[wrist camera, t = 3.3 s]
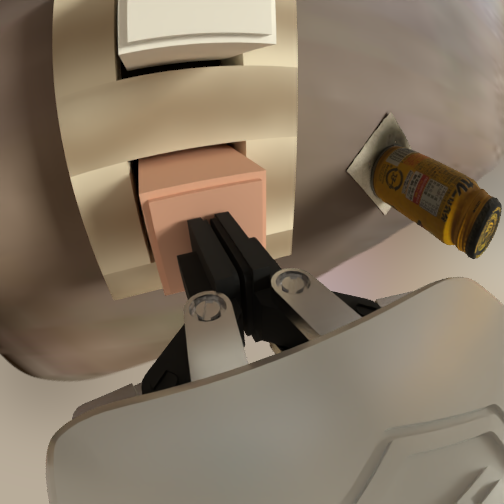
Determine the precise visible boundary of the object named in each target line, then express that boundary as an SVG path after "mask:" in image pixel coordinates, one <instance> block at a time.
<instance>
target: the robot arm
mask: <svg viewBox="0 0 504 504" xmlns="http://www.w3.org/2000/svg"><path fill="white" fill-rule="evenodd" d="M187 223H188V230H189V236H190V242H191V247H192V252H189V253H185V254H181V255H177V260H178V265H179V269H180V273H181V277H182V281H183V285H184V289H185V292H186V295H187V298H188V301H187V302H186V304H185V306H184V321H185V324H184V325H183V326H182V328H181V329H180V330H179V332H178V333H177V334H176V335H175V337H174V338H173V339H172V341H171V342H170V343H169V345H168V346H167V347H166V348H165V350H164V351H163V352H162V354H161V355H160V356H159V358H158V359H157V360H156V362H155V363H154V364H153V365H152V367H151V368H150V369H149V371H148V372H147V374H146V375H145V377H144V379H143V380H142V382H141V383H139V384H137V385H135V386H133V384H129V385H127V386H125V387H122V388H120V389H118V390H115V391H113V392H111V393H109V394H106V395H104V396H101V397H99V398H97V399H94V400H92V401H89V402H87V403H85V404H82V405H81V406H79V407H78V408H77V409H76V411H75V412H74V414H73V417H72V420H71V421H69V422H68V423H66V424H65V425H64V426H62V427H61V428H60V429H59V430H58V431H57V432H56V433H55V434H54V436H53V437H52V438H51V440H50V443H49V445H48V449H47V456H46V481H47V492H48V497H49V503H50V504H504V305H503V304H502V303H501V302H500V301H499V300H498V299H497V298H495V297H494V296H493V295H492V294H491V293H490V292H489V291H487V290H486V289H485V288H484V287H482V286H481V285H480V284H478V283H477V282H475V281H474V280H472V279H469V278H464V277H453V278H446V279H442V280H439V281H436V282H433V283H430V284H428V285H426V286H424V287H421V288H420V289H417V290H415V291H413V292H407V293H403V294H399V295H394V296H390V297H385V298H381V299H376V301H375V302H373V301H371V300H368V299H365V298H360V297H356V296H351V295H347V294H342V293H338V292H333V291H330V290H329V289H328V288H326V287H325V286H324V285H323V284H322V283H321V282H319V281H318V280H317V279H316V278H315V277H313V276H312V275H311V274H310V273H308V272H306V271H304V270H301V269H297V268H286V269H281V268H280V267H279V265H278V264H277V263H276V262H275V260H274V259H273V258H272V257H271V255H270V254H269V253H268V252H267V250H266V249H265V248H264V247H263V246H262V244H261V243H260V242H259V241H258V239H257V238H256V237H251V238H249V237H248V236H247V235H246V233H245V232H244V231H243V230H242V228H241V227H240V226H239V224H238V223H237V222H236V221H235V219H234V218H233V217H232V215H231V214H230V213H229V212H228V211H227V212H222V213H217V214H215V215H214V218H211V219H210V224H209V222H208V221H207V219H206V220H202V218H201V217H199V218H195V219H190V220H187ZM210 225H211V226H210ZM244 331H245V333H246V335H247V336H250V335H252V337H253V339H254V340H255V342H258V341H261V340H263V341H266V342H269V343H270V347H271V348H272V350H273V351H274V353H275V355H272V356H270V357H267V358H264V359H261V360H259V361H256V362H253V363H250V364H248V361H247V357H246V354H245V350H244V347H245V340H244Z"/></svg>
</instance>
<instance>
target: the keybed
mask: <svg viewBox="0 0 504 504" xmlns="http://www.w3.org/2000/svg"><path fill="white" fill-rule="evenodd" d="M275 9H276V44H275V45H271V46H267V47H263V48H260V49H256V50H253V51H249V52H246V53H243V54H239V55H236V56H233V57H230V58H227V59H224V60H220V62H221V66H215V67H201V68H190V69H181V70H173V71H166V72H159V73H153V74H147V75H141V76H136V77H131V78H127V79H122V78H121V63H120V57H119V54H118V0H54V9H53V28H52V55H53V75H54V88H55V97H56V106H57V113H58V120H59V126H60V132H61V138H62V143H63V148H64V153H65V158H66V162H67V166H68V171H69V175H70V179H71V183H72V186H73V190H74V194H75V197H76V201H77V204H78V207H79V211H80V214H81V217H82V220H83V223H84V226H85V229H86V232H87V235H88V238H89V241H90V243H91V246H92V249H93V252H94V254H95V257H96V259H97V262H98V264H99V267H100V269H101V272H102V274H103V277H104V279H105V281H106V284H107V286H108V288H109V291H110V293H111V295H112V297H113V299H114V300H118V299H122V298H126V297H130V296H134V295H138V294H142V293H146V292H150V291H154V290H158V289H162V288H163V287H162V283H161V280H160V277H159V273H158V270H157V266H156V262H155V259H154V255H153V251H152V248H151V244H150V240H149V236H148V232H147V230H146V225H145V221H144V217H143V213H142V208H141V204H140V199H139V194H138V189H137V184H136V179H135V174H134V169H133V163H132V160H135V159H139V158H144V157H148V156H153V155H157V154H162V153H167V152H173V151H178V150H184V149H189V148H195V147H202V146H208V145H215V144H222V143H225V144H227V145H228V146H230V147H232V148H233V149H235V150H236V151H238V152H239V153H241V154H242V155H244V156H246V157H247V158H249V159H250V160H252V161H253V162H255V163H256V164H258V165H259V166H261V167H262V168H264V169H265V170H266V250H267V252H268V253H269V254H270V255H271V257H272V258H273V259H277V258H280V257H284V256H288V255H291V249H292V234H293V218H294V200H295V179H296V152H297V110H298V50H297V12H296V0H275Z"/></svg>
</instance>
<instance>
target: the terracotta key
mask: <svg viewBox="0 0 504 504" xmlns="http://www.w3.org/2000/svg"><path fill="white" fill-rule="evenodd" d="M139 197H140V202H141V206H142V211H143V215H144V219H145V224H146V228H147V232H148V236H149V240H150V244H151V248H152V251H153V255H154V259H155V262H156V266H157V270H158V273H159V277H160V280H161V283H162V287H163V290H164V293H165V296H166V295H170V294H174V293H178V292H182V291H185V289H184V285H183V281H182V277H181V273H180V269H179V265H178V260H177V255H181V254H185V253H189V252H192V247H191V242H190V236H189V230H188V223H187V220H190V219H195V218H199V217H201V218H202V220H206V219H207V221H208V222H209V224H210V219H211V218H214V215H215V214H217V213H222V212H227V211H228V212H229V213H230V214H231V215H232V217H233V218H234V219H235V221H236V222H237V223H238V224H239V226H240V227H241V228H242V230H243V231H244V232H245V233H246V235H247V236H248V237H249V238H251V237H256V238H257V239H258V241H259V242H260V243H261V244H262V246H263V247H264V248H265V249H266V170H265V169H264V168H262V167H261V166H259V165H258V164H256V163H255V162H253V161H252V160H250V159H249V158H247V157H246V156H244V155H242V154H241V153H239V152H238V151H236V150H235V149H233V148H232V147H230V146H228V145H227V144H225V143H222V144H215V145H208V146H202V147H195V148H189V149H184V150H178V151H173V152H167V153H162V154H157V155H153V156H148V157H144V158H139ZM210 226H211V225H210Z"/></svg>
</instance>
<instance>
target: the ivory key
mask: <svg viewBox="0 0 504 504" xmlns="http://www.w3.org/2000/svg"><path fill="white" fill-rule="evenodd" d="M275 44H276V9H275V0H118V54H119V57H120V58H121V60H122V62H123V64H124V66H125V67H126V69H127V71H131V70H136V69H141V68H147V67H153V66H159V65H166V64H174V63H182V62H192V61H205V60H224V59H227V58H230V57H233V56H236V55H239V54H243V53H246V52H249V51H253V50H256V49H260V48H263V47H267V46H271V45H275Z"/></svg>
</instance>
